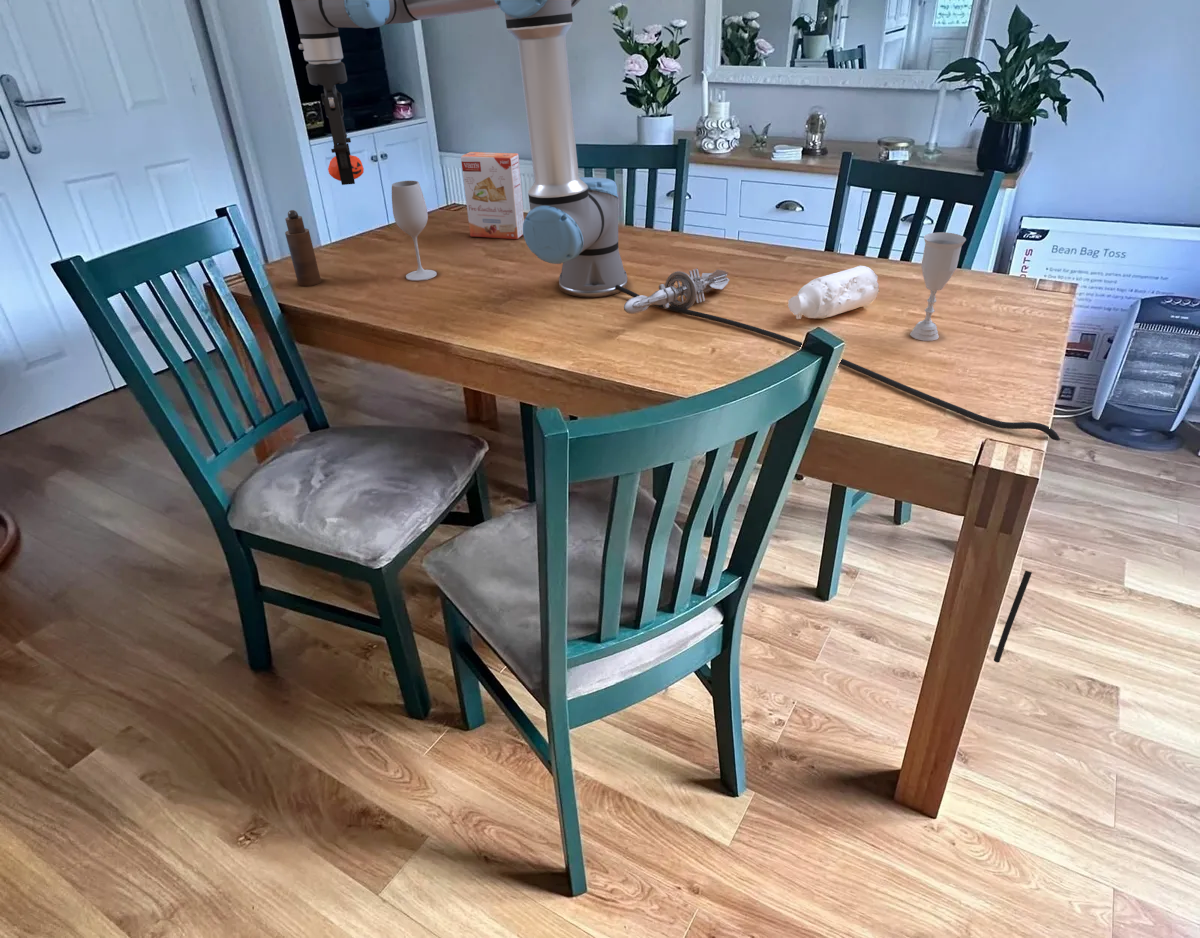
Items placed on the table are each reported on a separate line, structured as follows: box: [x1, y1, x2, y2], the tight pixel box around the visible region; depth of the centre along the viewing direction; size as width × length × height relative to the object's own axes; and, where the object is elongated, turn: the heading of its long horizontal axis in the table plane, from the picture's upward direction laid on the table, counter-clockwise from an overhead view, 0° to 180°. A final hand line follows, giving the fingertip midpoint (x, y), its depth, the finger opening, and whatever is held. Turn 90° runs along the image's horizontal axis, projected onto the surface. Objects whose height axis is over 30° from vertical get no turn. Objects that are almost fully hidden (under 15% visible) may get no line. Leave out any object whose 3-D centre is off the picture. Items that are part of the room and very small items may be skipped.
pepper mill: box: [284, 209, 322, 287], centre depth 176 cm, size 5×5×17 cm
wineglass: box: [391, 180, 438, 282], centre depth 176 cm, size 8×8×21 cm
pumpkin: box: [327, 154, 365, 182], centre depth 165 cm, size 7×8×6 cm
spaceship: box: [623, 268, 730, 315], centre depth 155 cm, size 8×35×8 cm
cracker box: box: [460, 151, 525, 240], centre depth 202 cm, size 14×6×21 cm, turn 73°
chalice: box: [909, 231, 967, 342], centre depth 138 cm, size 7×7×18 cm
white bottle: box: [787, 265, 880, 320], centre depth 150 cm, size 8×19×8 cm, turn 121°
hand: (348, 179), depth 167 cm, fingers closed on pumpkin, 8 cm apart
